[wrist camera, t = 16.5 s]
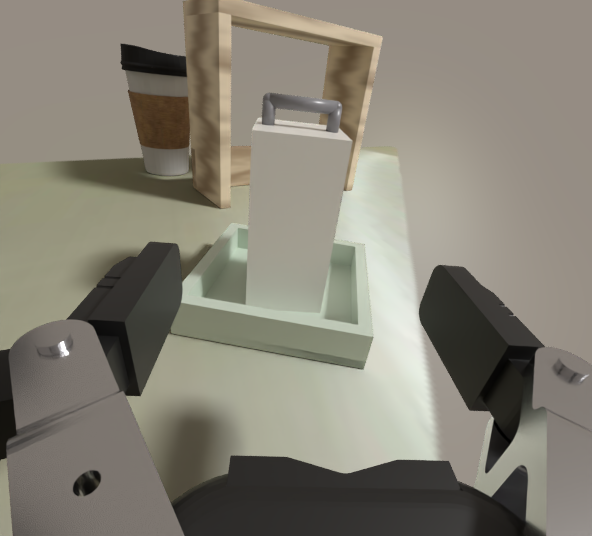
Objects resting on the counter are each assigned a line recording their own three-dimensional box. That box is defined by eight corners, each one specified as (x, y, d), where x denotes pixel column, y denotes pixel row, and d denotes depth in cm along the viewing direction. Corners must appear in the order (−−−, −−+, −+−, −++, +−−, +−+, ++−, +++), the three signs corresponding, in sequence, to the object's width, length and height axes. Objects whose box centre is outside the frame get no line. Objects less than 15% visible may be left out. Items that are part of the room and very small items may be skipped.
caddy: (320, 313, 22) (359, 106, 15) (245, 308, 21) (253, 93, 15) (313, 273, 26) (342, 98, 20) (251, 269, 26) (259, 89, 19)
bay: (351, 189, 49) (382, 36, 39) (220, 208, 37) (218, -6, 27) (317, 174, 55) (337, 36, 45) (193, 187, 43) (182, 1, 33)
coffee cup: (134, 162, 49) (117, 43, 42) (191, 162, 53) (185, 53, 45) (137, 179, 43) (118, 42, 35) (202, 177, 46) (197, 53, 39)
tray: (171, 333, 19) (167, 300, 18) (231, 248, 29) (231, 222, 28) (363, 369, 19) (373, 336, 17) (358, 269, 29) (364, 244, 27)
